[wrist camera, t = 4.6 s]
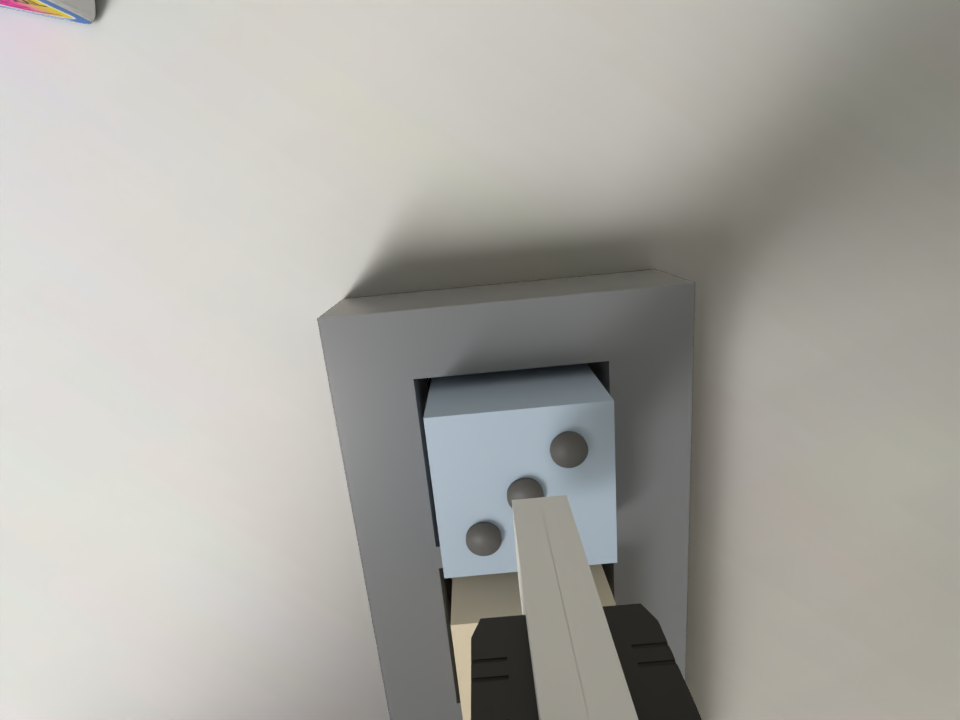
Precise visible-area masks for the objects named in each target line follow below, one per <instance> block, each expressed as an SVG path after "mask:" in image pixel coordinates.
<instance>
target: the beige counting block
mask: <svg viewBox="0 0 960 720" xmlns="http://www.w3.org/2000/svg"><path fill="white" fill-rule="evenodd" d="M589 567H590V570H591V573H592V576H593V579H594V582H595V586H596V589H597V592H598V595H599V598H600V601H601V604H602V607H603V606H615V605H616V603H615V600H614V597H613V594H612V592H611V589H610V586H609V584H608V581H607V578H606V576H605V573H604V570H603V567H602V565H601V564H596V565H589ZM516 615H522V607H521V599H520V590H519V582H518V572H509V573H498V574H487V575H476V576H465V577H454V578H452V602H451V633H452V640H453V648H454V656H455V663H456V671H457V678H458V686H459V694H460V701H461V709H462V716H463V720H471V637H472V635H473V633H474V631H475V629H476V627H477V625H478V623H479V621H480V619H481V618H493V617H504V616H516Z"/></svg>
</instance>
